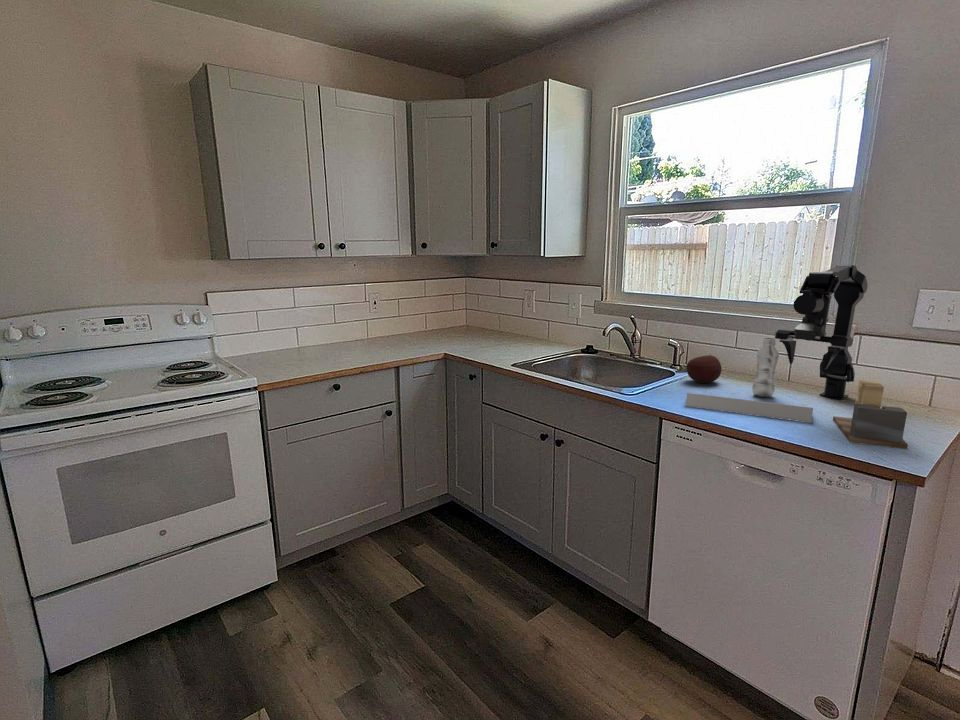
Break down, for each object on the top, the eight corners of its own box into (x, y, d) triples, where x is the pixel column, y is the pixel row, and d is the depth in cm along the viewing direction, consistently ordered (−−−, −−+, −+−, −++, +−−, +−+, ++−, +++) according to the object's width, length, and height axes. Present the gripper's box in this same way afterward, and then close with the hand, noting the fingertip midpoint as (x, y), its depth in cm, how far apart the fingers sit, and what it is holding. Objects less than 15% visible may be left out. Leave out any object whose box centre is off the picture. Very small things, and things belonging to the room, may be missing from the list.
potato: (678, 380, 193) (680, 354, 191) (707, 377, 196) (709, 351, 194) (698, 388, 182) (700, 360, 180) (728, 385, 186) (731, 357, 184)
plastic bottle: (748, 393, 175) (755, 336, 171) (770, 394, 174) (777, 337, 170) (754, 398, 169) (761, 340, 165) (776, 399, 168) (784, 340, 163)
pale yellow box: (852, 420, 143) (859, 380, 141) (869, 422, 142) (876, 381, 139) (860, 429, 137) (867, 386, 134) (878, 431, 135) (885, 388, 132)
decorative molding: (688, 407, 171) (685, 407, 162) (690, 393, 171) (687, 392, 162) (807, 423, 154) (811, 424, 146) (809, 407, 155) (813, 407, 146)
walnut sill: (832, 420, 148) (837, 389, 146) (882, 425, 143) (888, 394, 141) (850, 442, 131) (855, 408, 129) (907, 448, 127) (913, 414, 125)
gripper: (771, 311, 151) (763, 362, 153) (844, 317, 136) (834, 374, 139) (786, 311, 158) (778, 360, 160) (857, 317, 143) (847, 371, 146)
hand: (807, 366), depth 151 cm, fingers open, 9 cm apart
